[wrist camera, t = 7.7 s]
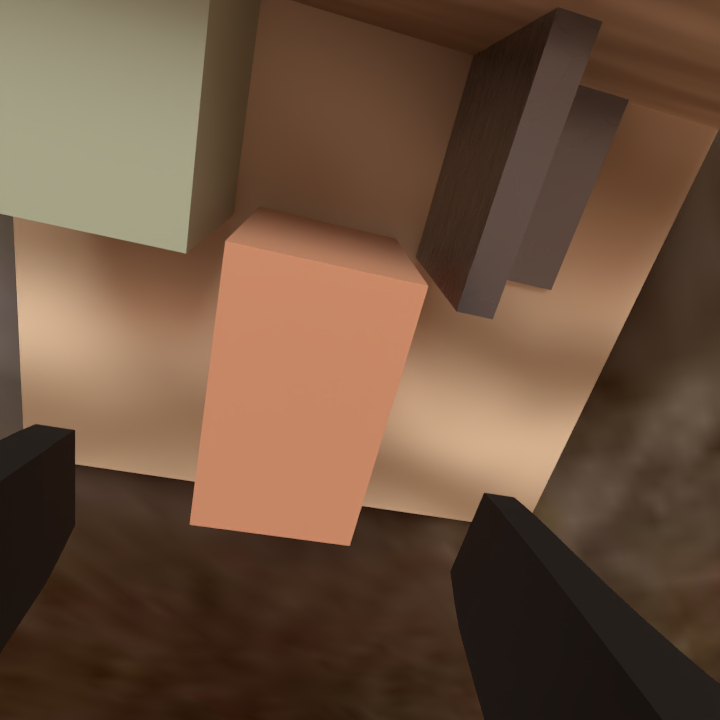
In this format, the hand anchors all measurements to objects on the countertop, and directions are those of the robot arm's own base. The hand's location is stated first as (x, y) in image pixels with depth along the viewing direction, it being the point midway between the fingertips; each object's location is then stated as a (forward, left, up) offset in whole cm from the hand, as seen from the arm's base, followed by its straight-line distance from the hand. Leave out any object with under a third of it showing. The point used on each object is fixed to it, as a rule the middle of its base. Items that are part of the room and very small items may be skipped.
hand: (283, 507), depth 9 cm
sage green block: (+6, +5, -7) cm, 11 cm away
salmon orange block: (0, 0, -7) cm, 7 cm away
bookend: (+6, -5, -7) cm, 11 cm away
